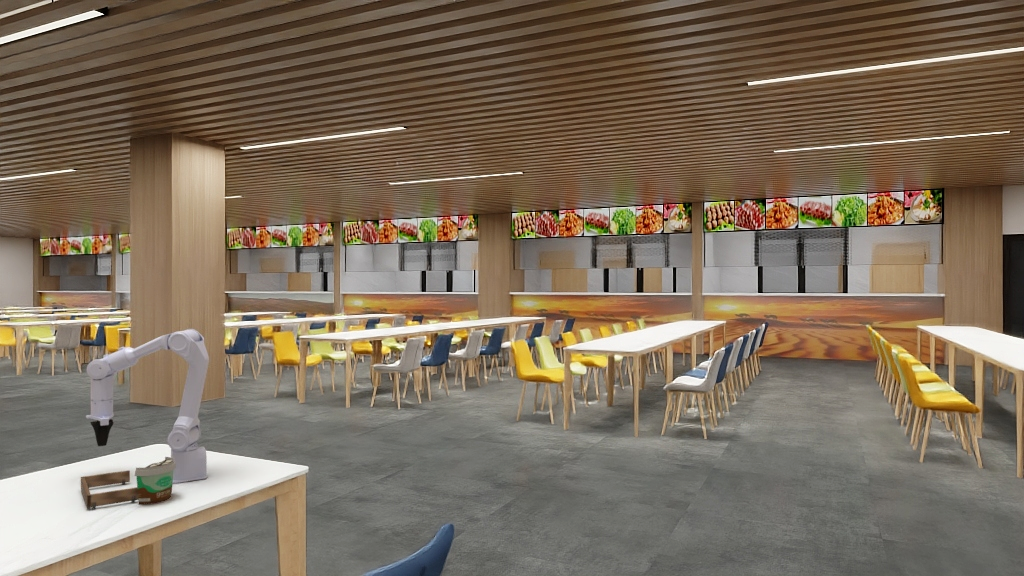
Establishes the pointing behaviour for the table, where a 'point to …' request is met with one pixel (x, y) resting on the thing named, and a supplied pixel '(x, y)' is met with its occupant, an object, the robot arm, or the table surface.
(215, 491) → the table surface
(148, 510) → the table surface
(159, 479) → the food container
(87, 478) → the wooden u-shaped frame
